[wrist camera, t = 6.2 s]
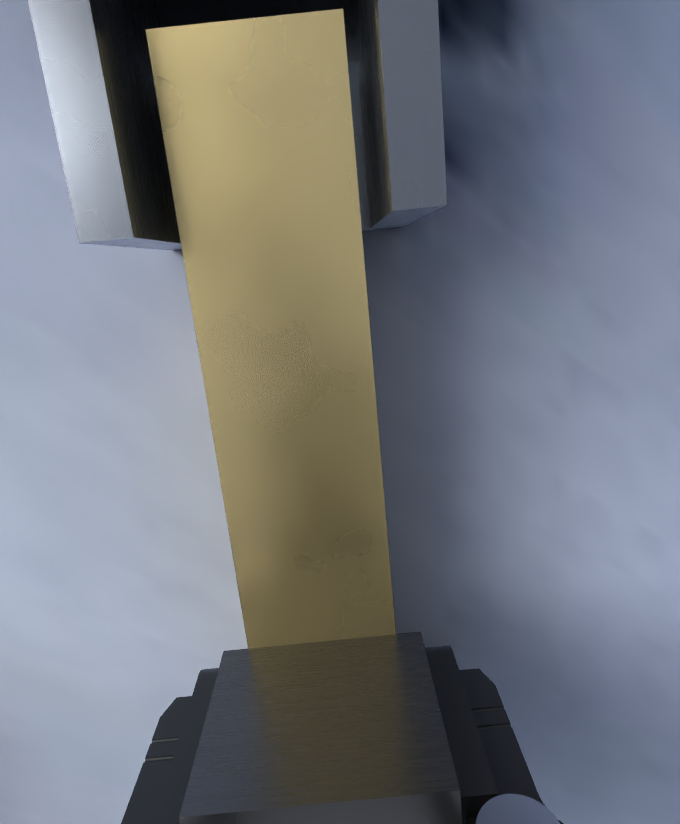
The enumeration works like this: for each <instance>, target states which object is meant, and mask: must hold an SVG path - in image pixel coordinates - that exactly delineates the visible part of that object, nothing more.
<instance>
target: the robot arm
mask: <svg viewBox="0 0 680 824" xmlns="http://www.w3.org/2000/svg"><path fill="white" fill-rule="evenodd" d="M425 652H426V656H427V660H428V664H429V668H430V672H431V676H432V680H433V684H434V688H435V692H436V696H437V700H438V704H439V708H440V712H441V716H442V720H443V724H444V728H445V732H446V736H447V740H448V744H449V748H450V752H451V756H452V760H453V764H454V768H455V772H456V776H457V780H458V784H459V788H460V796H461V815H462V824H563V823H562V822H561V821H559V820H558V819H557V818H556V817H555V816H554V814H553V813H552V812H551V811H550V810H549V809H548V808H547V807H545V805H544V804H543V802H542V801H541V799H540V797H539V795H538V792H537V790H536V787H535V785H534V782H533V780H532V777H531V775H530V772H529V770H528V767H527V765H526V762H525V759H524V757H523V754H522V752H521V749H520V747H519V744H518V742H517V739H516V737H515V734H514V732H513V729H512V727H511V726H510V721H509V719H508V716H507V714H506V711H505V710H504V707H503V704H502V701H501V699H500V696H499V694H498V691H497V688H496V686H495V685H494V684H493V683H492V682H491V680H490V679H489V678H488V677H487V676H486V675H485V674H484V673H483V672H482V671H481V670H480V669H469V670H459V669H458V666H457V663H456V660H455V657H454V654H453V651H452V648H451V646H442V647H432V648H425ZM218 671H219V668H214V669H204V670H201V671H200V673H199V676H198V679H197V682H196V685H195V688H194V692H193V695H192V696H188V697H178V698H176V699H175V700H174V701H173V703H172V704H171V705H170V706H169V708H168V709H167V710H166V711H165V712H164V714H163V715H162V716H161V717H160V719H159V722H158V725H157V728H156V730H155V733H154V736H153V738H152V744H150V747H149V749H148V752H147V755H146V757H145V763H143V766H142V768H141V771H140V774H139V776H138V779H137V782H136V785H135V787H134V790H133V793H132V796H131V798H130V801H129V804H128V806H127V809H126V812H125V815H124V817H123V820H122V823H121V824H180V820H179V815H180V812H181V808H182V804H183V801H184V797H185V793H186V789H187V786H188V782H189V778H190V775H191V771H192V767H193V763H194V760H195V756H196V752H197V749H198V745H199V741H200V737H201V734H202V730H203V726H204V723H205V719H206V715H207V711H208V708H209V704H210V700H211V697H212V693H213V689H214V685H215V682H216V678H217V674H218Z"/></svg>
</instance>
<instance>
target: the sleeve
mask: <svg viewBox="0 0 680 824" xmlns="http://www.w3.org/2000/svg"><path fill="white" fill-rule="evenodd" d="M28 4H29V9H30V14H31V18H32V23H33V28H34V33H35V37H36V42H37V47H38V51H39V56H40V61H41V66H42V70H43V75H44V80H45V84H46V89H47V94H48V99H49V103H50V108H51V113H52V118H53V122H54V127H55V132H56V136H57V141H58V146H59V151H60V155H61V160H62V165H63V169H64V174H65V179H66V184H67V188H68V193H69V198H70V202H71V207H72V212H73V217H74V221H75V226H76V231H77V235H78V240H79V243H85V244H98V245H111V246H123V247H136V248H149V249H162V250H178V249H182V247H181V241H180V235H179V229H178V223H177V217H176V211H175V205H174V199H173V193H172V187H171V181H170V175H169V169H168V163H167V157H166V150H165V144H164V138H163V132H162V126H161V120H160V114H159V108H158V102H157V96H156V90H155V84H154V78H153V72H152V66H151V60H150V54H149V48H148V42H147V36H146V30H145V29H153V28H163V27H172V26H182V25H191V24H201V23H210V22H220V21H229V20H239V19H248V18H258V17H267V16H277V15H286V14H296V13H306V12H315V11H325V10H334V9H343V13H344V25H345V37H346V49H347V61H348V73H349V85H350V96H351V108H352V120H353V132H354V144H355V156H356V168H357V179H358V191H359V203H360V215H361V227H362V231H363V230H372V229H382V228H392V227H401V226H405V225H407V224H409V223H411V222H413V221H415V220H417V219H420V218H422V217H424V216H426V215H428V214H430V213H432V212H434V211H436V210H438V209H440V208H442V207H444V206H446V205H447V190H446V168H445V146H444V125H443V103H442V81H441V59H440V37H439V15H438V0H28Z"/></svg>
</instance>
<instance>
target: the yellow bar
mask: <svg viewBox="0 0 680 824" xmlns="http://www.w3.org/2000/svg"><path fill="white" fill-rule="evenodd" d="M145 30H146V36H147V42H148V48H149V54H150V60H151V66H152V72H153V78H154V84H155V90H156V96H157V102H158V108H159V114H160V120H161V126H162V132H163V138H164V144H165V150H166V157H167V163H168V169H169V175H170V181H171V187H172V193H173V199H174V205H175V211H176V217H177V223H178V229H179V235H180V241H181V247H182V253H183V259H184V265H185V271H186V277H187V283H188V289H189V295H190V301H191V307H192V313H193V319H194V325H195V331H196V337H197V343H198V349H199V355H200V361H201V367H202V373H203V379H204V385H205V391H206V397H207V403H208V409H209V415H210V421H211V427H212V433H213V439H214V445H215V451H216V457H217V463H218V469H219V475H220V482H221V488H222V494H223V500H224V506H225V512H226V518H227V524H228V530H229V536H230V542H231V548H232V554H233V560H234V566H235V572H236V578H237V584H238V590H239V596H240V602H241V608H242V614H243V620H244V626H245V632H246V638H247V644H248V649H240V650H230V651H224V652H223V656H222V659H221V663H220V667H219V671H218V674H217V678H216V682H215V685H214V689H213V693H212V697H211V700H210V704H209V708H208V711H207V715H206V719H205V723H204V726H203V730H202V734H201V737H200V741H199V745H198V749H197V752H196V756H195V760H194V763H193V767H192V771H191V775H190V778H189V782H188V786H187V789H186V793H185V797H184V801H183V804H182V808H181V812H180V815H179V820H180V824H462V815H461V796H460V788H459V784H458V780H457V776H456V772H455V768H454V764H453V760H452V756H451V752H450V748H449V744H448V740H447V736H446V732H445V728H444V724H443V720H442V716H441V712H440V708H439V704H438V700H437V696H436V692H435V688H434V684H433V680H432V676H431V672H430V668H429V664H428V660H427V656H426V652H425V648H424V644H423V640H422V636H421V632H413V633H403V634H396V630H395V618H394V606H393V594H392V582H391V570H390V559H389V547H388V535H387V523H386V511H385V499H384V487H383V476H382V464H381V452H380V440H379V428H378V416H377V404H376V393H375V381H374V369H373V357H372V345H371V333H370V322H369V310H368V298H367V286H366V274H365V262H364V250H363V239H362V227H361V215H360V203H359V191H358V179H357V168H356V156H355V144H354V132H353V120H352V108H351V96H350V85H349V73H348V61H347V49H346V37H345V25H344V13H343V9H334V10H325V11H315V12H306V13H296V14H286V15H277V16H267V17H258V18H248V19H239V20H229V21H220V22H210V23H201V24H191V25H182V26H172V27H163V28H153V29H145Z"/></svg>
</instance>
